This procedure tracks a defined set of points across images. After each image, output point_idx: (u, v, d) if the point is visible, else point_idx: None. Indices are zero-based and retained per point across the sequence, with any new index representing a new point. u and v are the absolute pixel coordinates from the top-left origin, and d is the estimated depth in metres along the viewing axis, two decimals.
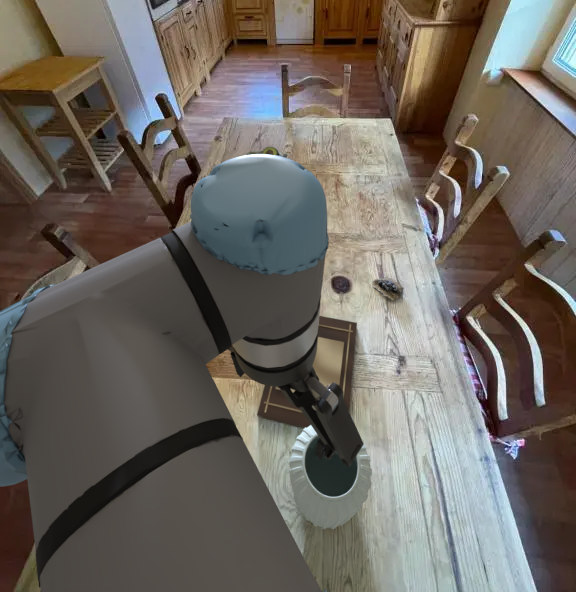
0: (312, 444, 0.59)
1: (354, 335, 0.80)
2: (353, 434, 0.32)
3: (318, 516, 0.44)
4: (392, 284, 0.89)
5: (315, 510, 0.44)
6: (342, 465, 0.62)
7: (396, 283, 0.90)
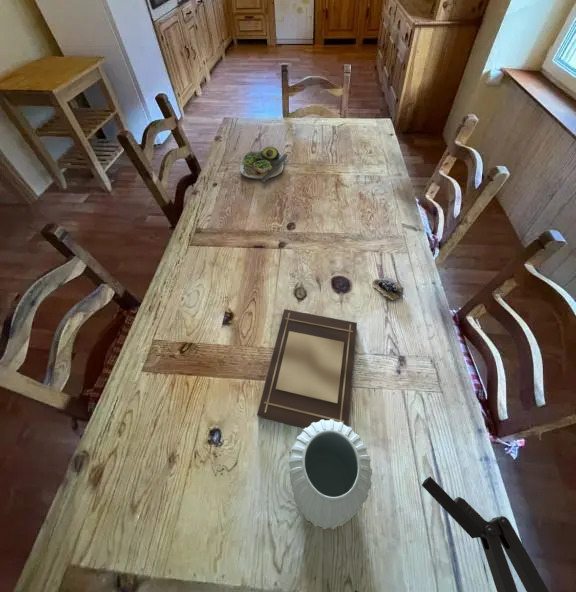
0: (312, 444, 0.59)
1: (354, 335, 0.80)
2: None
3: (318, 516, 0.44)
4: (392, 284, 0.89)
5: (315, 510, 0.44)
6: (342, 465, 0.62)
7: (396, 283, 0.90)
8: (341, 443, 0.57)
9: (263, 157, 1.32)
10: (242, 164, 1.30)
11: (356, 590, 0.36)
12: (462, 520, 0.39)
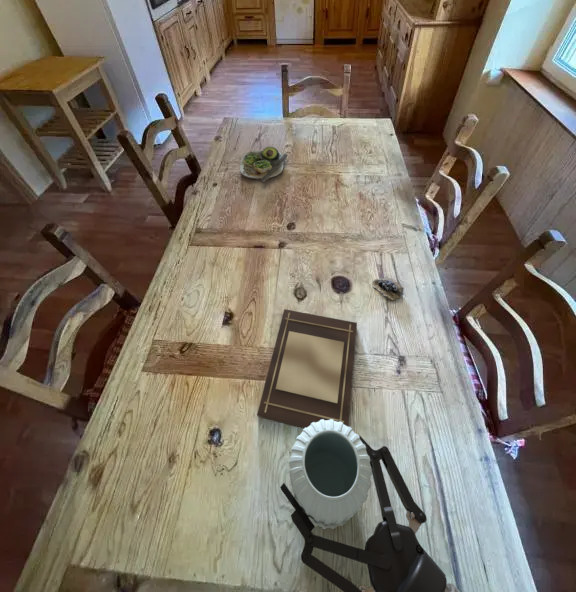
0: (312, 444, 0.59)
1: (354, 335, 0.80)
2: None
3: (318, 516, 0.44)
4: (392, 284, 0.89)
5: (315, 510, 0.44)
6: (342, 465, 0.62)
7: (396, 283, 0.90)
8: (341, 443, 0.57)
9: (263, 157, 1.32)
10: (242, 164, 1.30)
11: None
12: None
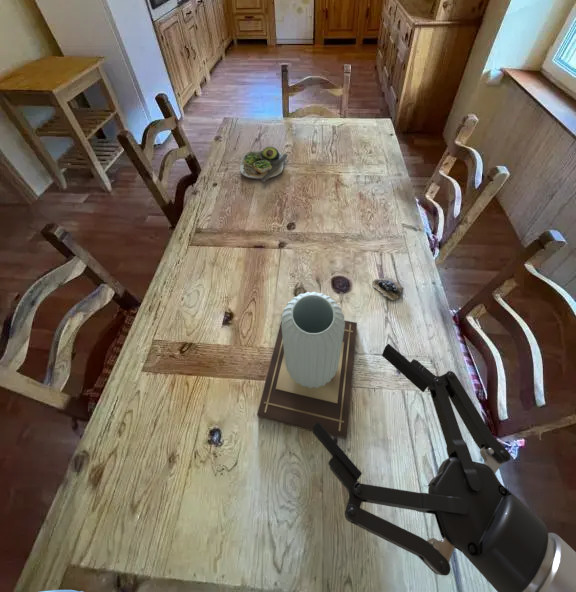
0: (301, 325, 0.73)
1: (354, 335, 0.80)
2: (372, 532, 0.34)
3: (302, 348, 0.57)
4: (392, 284, 0.89)
5: (300, 344, 0.58)
6: None
7: (396, 283, 0.90)
8: (324, 321, 0.71)
9: (263, 157, 1.32)
10: (242, 164, 1.30)
11: None
12: (414, 375, 0.43)
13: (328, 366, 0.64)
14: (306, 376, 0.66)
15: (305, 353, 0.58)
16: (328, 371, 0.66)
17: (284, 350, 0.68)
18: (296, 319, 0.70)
